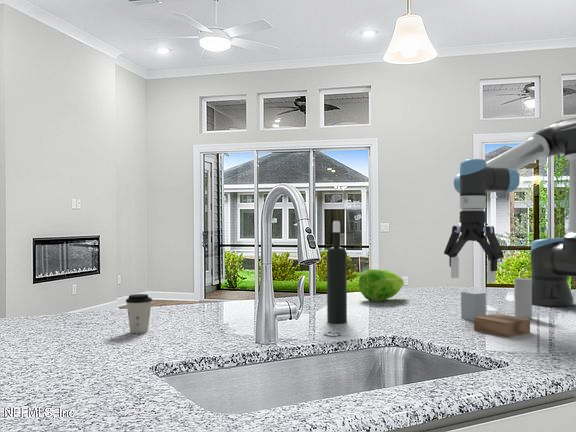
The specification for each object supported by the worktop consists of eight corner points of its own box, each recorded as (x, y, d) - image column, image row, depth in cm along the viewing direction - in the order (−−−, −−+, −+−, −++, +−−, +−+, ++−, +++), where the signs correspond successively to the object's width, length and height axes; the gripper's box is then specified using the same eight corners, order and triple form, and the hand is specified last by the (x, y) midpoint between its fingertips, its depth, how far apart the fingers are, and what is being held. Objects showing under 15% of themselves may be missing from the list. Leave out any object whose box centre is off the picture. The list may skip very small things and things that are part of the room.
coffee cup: (157, 330, 142) (157, 294, 142) (142, 335, 136) (142, 297, 136) (136, 328, 145) (135, 293, 145) (120, 333, 138) (120, 296, 138)
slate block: (472, 316, 160) (472, 291, 160) (485, 319, 156) (485, 292, 156) (461, 318, 157) (461, 292, 157) (474, 321, 153) (474, 294, 153)
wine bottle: (350, 321, 153) (350, 220, 153) (338, 324, 149) (338, 220, 149) (335, 319, 157) (334, 220, 157) (323, 321, 153) (322, 220, 153)
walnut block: (497, 327, 145) (497, 313, 145) (530, 334, 137) (530, 319, 137) (474, 331, 140) (474, 316, 140) (506, 338, 132) (506, 323, 132)
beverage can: (533, 319, 155) (533, 279, 155) (516, 319, 156) (516, 279, 156) (529, 316, 159) (529, 277, 159) (513, 316, 160) (512, 277, 160)
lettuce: (416, 300, 193) (416, 268, 193) (376, 305, 182) (376, 271, 182) (390, 295, 204) (390, 265, 204) (351, 300, 194) (351, 268, 194)
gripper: (433, 210, 166) (432, 276, 165) (499, 209, 144) (499, 285, 144) (449, 211, 169) (449, 275, 169) (516, 209, 148) (516, 283, 148)
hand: (472, 280), depth 156 cm, fingers open, 13 cm apart
